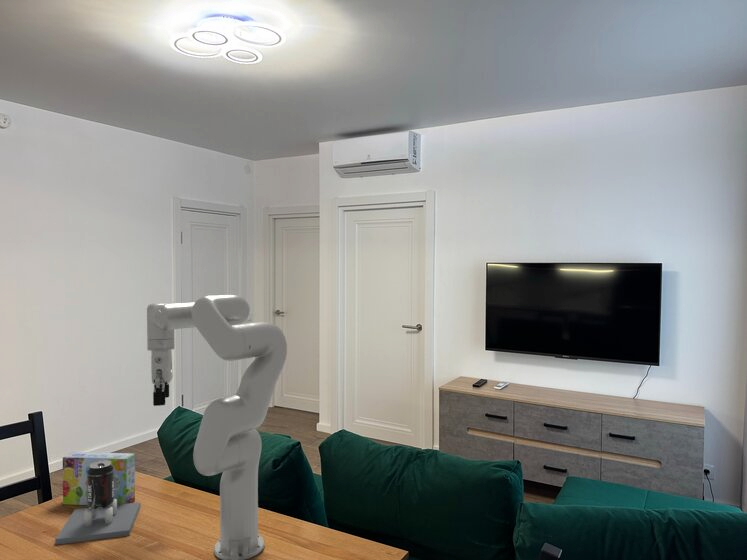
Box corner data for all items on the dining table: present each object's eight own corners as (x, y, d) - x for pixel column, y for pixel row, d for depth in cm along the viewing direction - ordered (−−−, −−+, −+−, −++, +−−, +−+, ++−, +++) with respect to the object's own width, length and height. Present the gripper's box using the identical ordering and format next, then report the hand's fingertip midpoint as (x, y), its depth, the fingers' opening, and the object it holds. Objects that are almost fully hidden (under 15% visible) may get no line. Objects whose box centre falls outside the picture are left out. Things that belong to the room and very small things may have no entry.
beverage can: (91, 513, 144) (90, 470, 144) (84, 505, 149) (83, 463, 149) (117, 505, 149) (117, 464, 149) (110, 498, 154) (109, 457, 154)
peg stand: (129, 535, 143) (129, 515, 143) (55, 544, 138) (55, 524, 138) (140, 506, 160) (140, 489, 160) (75, 514, 156) (74, 495, 155)
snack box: (136, 500, 165) (135, 452, 165) (126, 508, 160) (125, 459, 159) (73, 497, 167) (72, 450, 167) (61, 505, 162) (60, 456, 162)
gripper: (171, 347, 149) (171, 407, 149) (177, 340, 166) (177, 393, 166) (142, 349, 147) (143, 409, 147) (151, 341, 164) (152, 395, 164)
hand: (161, 401), depth 157 cm, fingers open, 9 cm apart
